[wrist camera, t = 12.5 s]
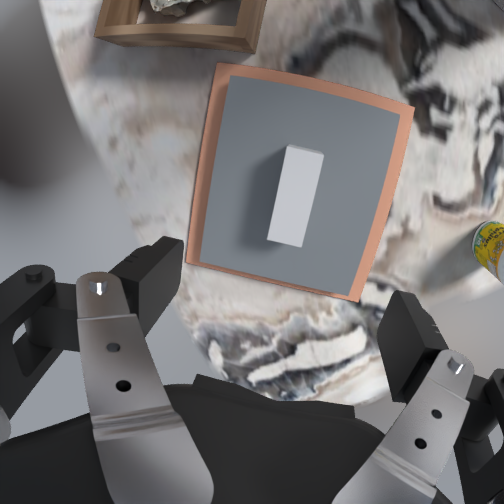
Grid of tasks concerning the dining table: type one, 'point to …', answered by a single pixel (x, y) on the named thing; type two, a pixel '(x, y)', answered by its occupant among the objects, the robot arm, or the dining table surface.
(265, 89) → the lid
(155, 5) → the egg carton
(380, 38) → the dining table surface
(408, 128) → the mat
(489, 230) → the supplement bottle
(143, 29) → the box
